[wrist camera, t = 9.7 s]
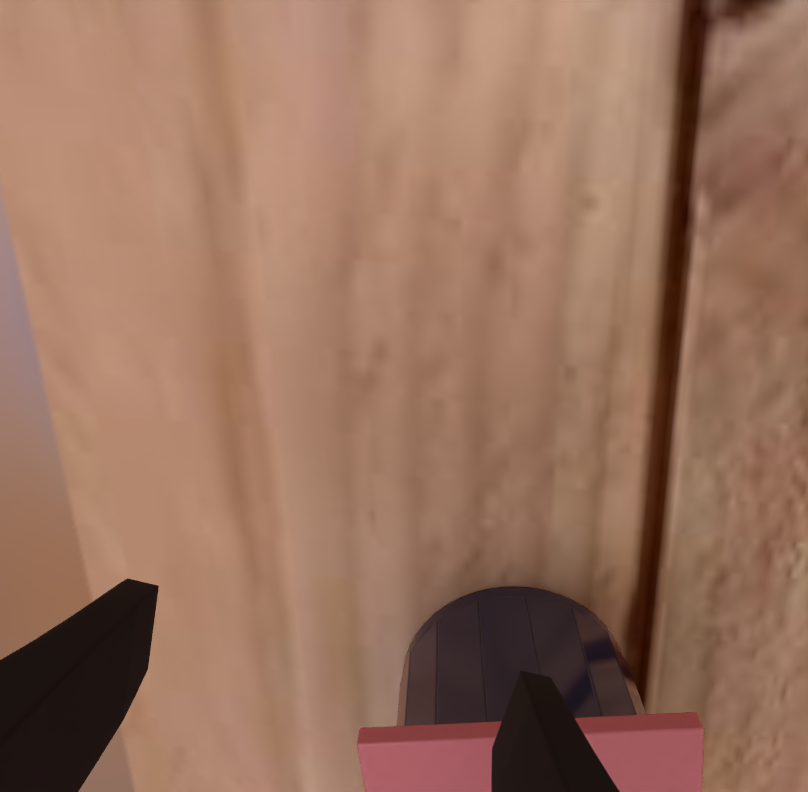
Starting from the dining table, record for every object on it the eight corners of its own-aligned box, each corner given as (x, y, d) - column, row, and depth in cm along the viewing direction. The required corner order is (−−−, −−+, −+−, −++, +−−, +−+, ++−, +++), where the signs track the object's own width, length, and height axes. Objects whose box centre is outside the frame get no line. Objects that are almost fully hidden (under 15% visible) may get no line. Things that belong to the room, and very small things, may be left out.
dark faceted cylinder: (584, 783, 27) (624, 965, 21) (382, 737, 27) (363, 907, 21) (657, 616, 24) (729, 769, 18) (432, 563, 24) (428, 699, 18)
